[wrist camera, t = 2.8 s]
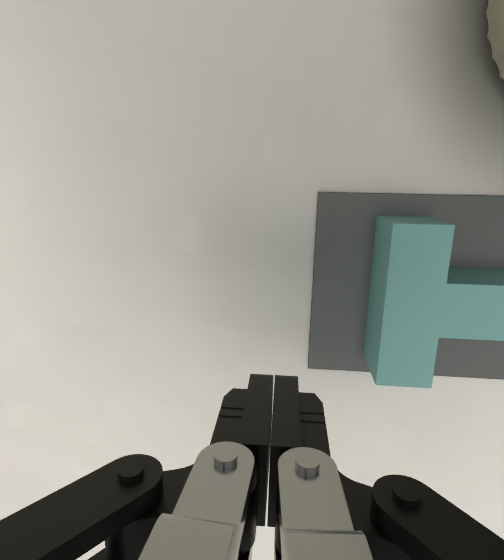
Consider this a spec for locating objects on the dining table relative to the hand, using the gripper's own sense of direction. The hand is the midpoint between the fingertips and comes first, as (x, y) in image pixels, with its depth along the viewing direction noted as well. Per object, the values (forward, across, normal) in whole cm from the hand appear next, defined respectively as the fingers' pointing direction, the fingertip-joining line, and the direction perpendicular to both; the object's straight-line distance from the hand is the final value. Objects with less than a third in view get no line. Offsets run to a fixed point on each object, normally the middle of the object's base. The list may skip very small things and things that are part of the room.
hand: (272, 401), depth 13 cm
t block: (+14, -10, 0) cm, 17 cm away
